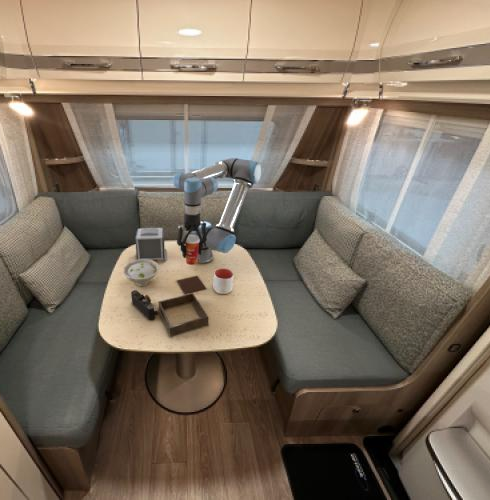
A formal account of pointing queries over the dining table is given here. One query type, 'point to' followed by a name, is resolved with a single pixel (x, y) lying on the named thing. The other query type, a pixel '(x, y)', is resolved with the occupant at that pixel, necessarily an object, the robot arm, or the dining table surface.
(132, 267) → the bowl
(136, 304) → the camera
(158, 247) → the grey speaker box
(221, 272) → the cup
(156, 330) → the dining table surface
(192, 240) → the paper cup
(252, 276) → the dining table surface
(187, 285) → the coaster mat
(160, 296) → the dining table surface
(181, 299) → the wooden tray
